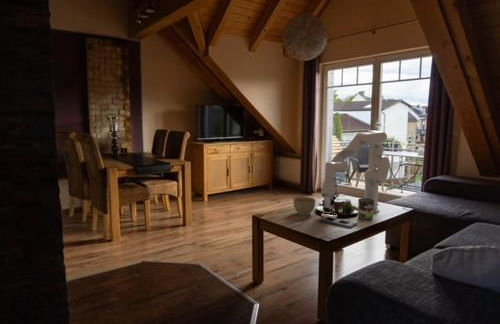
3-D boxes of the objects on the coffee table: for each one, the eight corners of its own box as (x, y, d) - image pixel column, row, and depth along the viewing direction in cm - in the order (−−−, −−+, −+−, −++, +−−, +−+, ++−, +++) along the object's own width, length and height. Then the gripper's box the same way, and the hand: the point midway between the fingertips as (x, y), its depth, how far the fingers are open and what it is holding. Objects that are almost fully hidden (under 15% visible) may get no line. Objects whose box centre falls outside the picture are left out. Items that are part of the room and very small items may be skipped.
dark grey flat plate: (327, 218, 254) (327, 216, 254) (356, 225, 240) (356, 223, 239) (320, 221, 248) (320, 219, 248) (350, 228, 233) (350, 226, 233)
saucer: (326, 212, 267) (326, 211, 267) (339, 215, 260) (339, 214, 260) (318, 216, 259) (318, 215, 259) (331, 219, 252) (331, 218, 252)
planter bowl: (308, 218, 254) (309, 203, 252) (288, 214, 263) (289, 200, 261) (319, 213, 266) (319, 199, 264) (299, 209, 276) (300, 195, 274)
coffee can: (375, 221, 247) (376, 201, 245) (361, 222, 245) (362, 202, 243) (368, 217, 257) (369, 197, 255) (354, 218, 255) (355, 198, 253)
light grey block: (327, 206, 262) (328, 195, 261) (333, 207, 259) (333, 196, 258) (324, 207, 258) (324, 196, 257) (330, 208, 255) (330, 197, 254)
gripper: (343, 180, 253) (342, 205, 255) (322, 177, 264) (321, 201, 267) (338, 181, 247) (337, 207, 250) (316, 178, 258) (316, 203, 261)
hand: (329, 204), depth 258 cm, fingers closed on light grey block, 4 cm apart
